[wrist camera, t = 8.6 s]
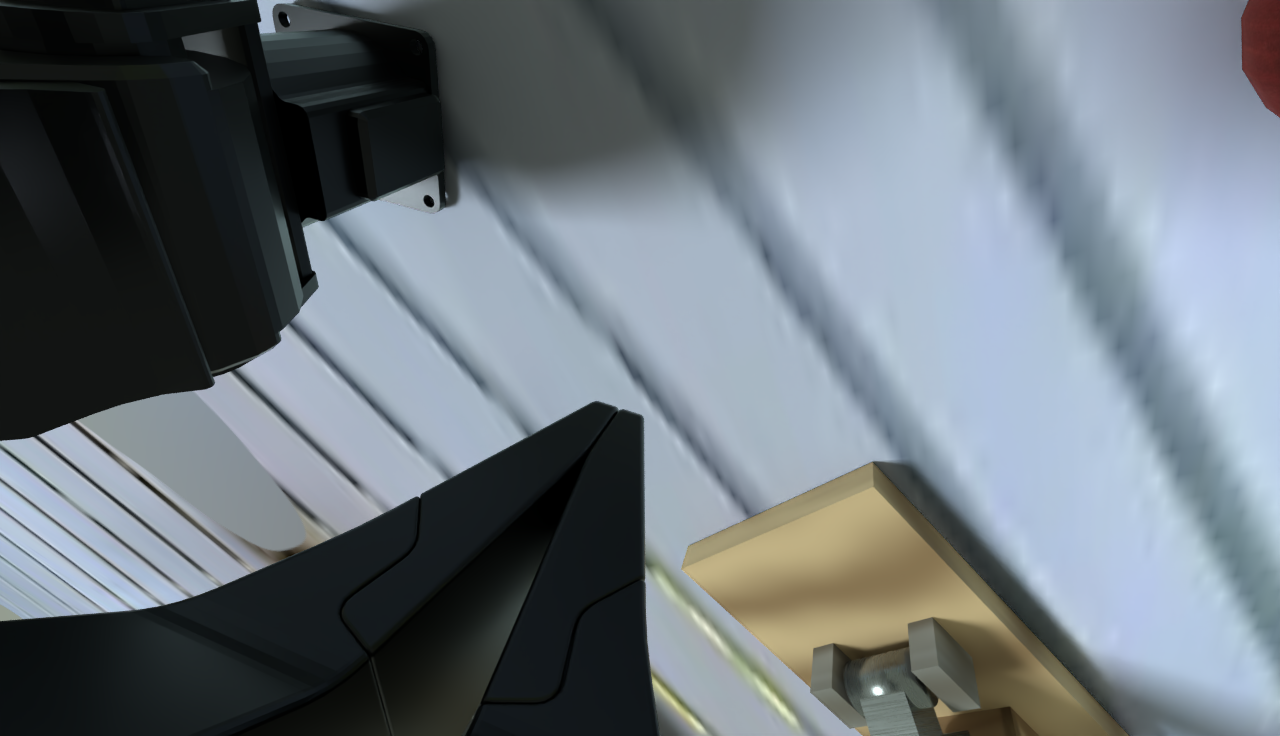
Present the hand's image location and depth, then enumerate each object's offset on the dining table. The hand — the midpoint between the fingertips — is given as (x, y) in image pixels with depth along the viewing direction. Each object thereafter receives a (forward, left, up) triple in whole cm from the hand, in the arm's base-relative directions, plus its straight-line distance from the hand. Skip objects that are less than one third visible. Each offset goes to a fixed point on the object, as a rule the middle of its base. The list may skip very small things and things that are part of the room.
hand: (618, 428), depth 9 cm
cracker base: (+12, -19, -13) cm, 26 cm away
